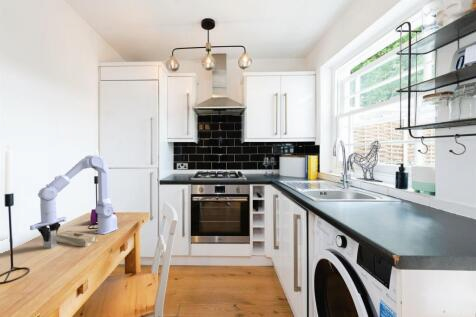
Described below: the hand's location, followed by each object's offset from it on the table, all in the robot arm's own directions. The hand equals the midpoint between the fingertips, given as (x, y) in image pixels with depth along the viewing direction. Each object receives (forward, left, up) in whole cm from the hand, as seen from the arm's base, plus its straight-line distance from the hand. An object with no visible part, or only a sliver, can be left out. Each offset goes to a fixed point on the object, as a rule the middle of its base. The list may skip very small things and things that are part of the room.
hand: (49, 240), depth 113 cm
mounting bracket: (-41, -13, -4) cm, 43 cm away
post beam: (-8, +6, -3) cm, 11 cm away
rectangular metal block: (0, 0, -3) cm, 3 cm away
